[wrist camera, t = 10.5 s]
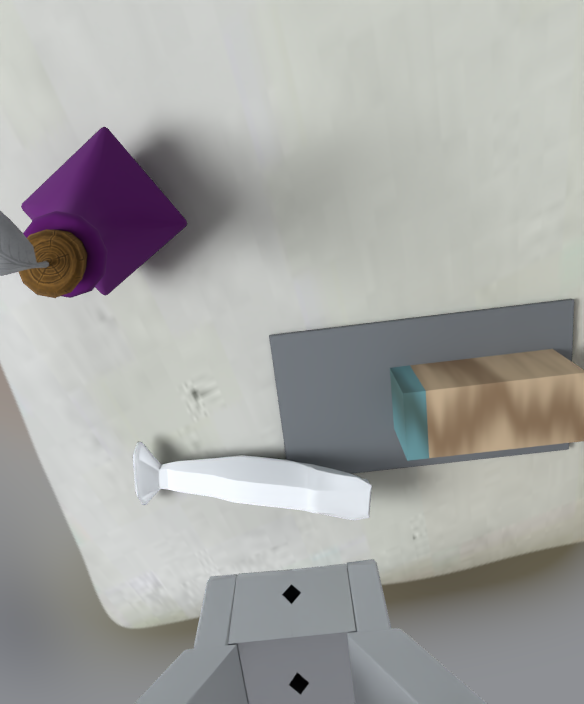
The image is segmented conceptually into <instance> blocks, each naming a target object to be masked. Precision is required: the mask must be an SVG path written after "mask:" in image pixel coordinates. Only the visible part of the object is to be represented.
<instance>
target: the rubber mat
mask: <svg viewBox="0 0 584 704" xmlns="http://www.w3.org/2000/svg"><path fill="white" fill-rule="evenodd" d="M573 316H574V300H573V299H566V300H558V301H550V302H541V303H533V304H525V305H516V306H508V307H500V308H491V309H483V310H475V311H466V312H458V313H450V314H441V315H433V316H425V317H416V318H408V319H399V320H391V321H383V322H374V323H366V324H358V325H349V326H341V327H333V328H324V329H316V330H308V331H299V332H291V333H283V334H274V335H269V338H270V345H271V352H272V359H273V367H274V374H275V381H276V388H277V395H278V402H279V409H280V416H281V423H282V430H283V438H284V445H285V452H286V459H287V460H289V461H294V462H300V463H307V464H314V465H317V466H322V467H327V468H331V469H335V470H339V471H343V472H346V473H350V474H352V473H361V472H370V471H379V470H388V469H397V468H406V467H415V466H424V465H433V464H442V463H451V462H459V461H468V460H477V459H486V458H495V457H504V456H513V455H522V454H531V453H540V452H549V451H558V450H567V449H569V443H562V444H553V445H544V446H535V447H526V448H517V449H508V450H499V451H490V452H481V453H472V454H463V455H454V456H445V457H436V458H427V459H418V460H409V461H407V459H406V456H405V454H404V451H403V449H402V447H401V444H400V442H399V439H398V437H397V434H396V432H395V430H394V421H393V407H392V393H391V379H390V368H393V367H401V366H410V365H418V364H427V363H435V362H444V361H453V360H461V359H470V358H478V357H487V356H495V355H504V354H513V353H521V352H530V351H538V350H547V349H553V350H555V351H556V352H558V353H559V354H561V355H562V356H564V357H565V358H567V359H568V360H570V361H571V362H572V344H573Z"/></svg>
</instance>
